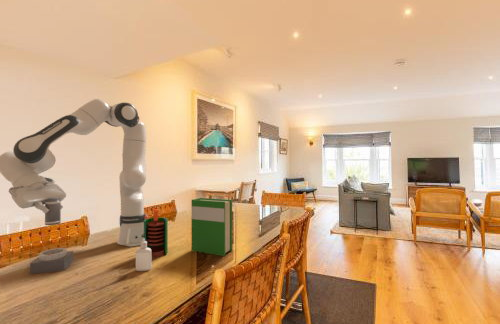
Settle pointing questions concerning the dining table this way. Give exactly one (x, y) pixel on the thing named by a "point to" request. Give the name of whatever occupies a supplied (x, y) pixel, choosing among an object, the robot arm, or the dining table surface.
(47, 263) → the grey holder base
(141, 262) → the eye dropper bottle
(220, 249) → the hardback book
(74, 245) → the dining table surface
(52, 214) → the lens
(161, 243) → the motor
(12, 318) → the dining table surface
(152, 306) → the dining table surface
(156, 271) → the dining table surface
